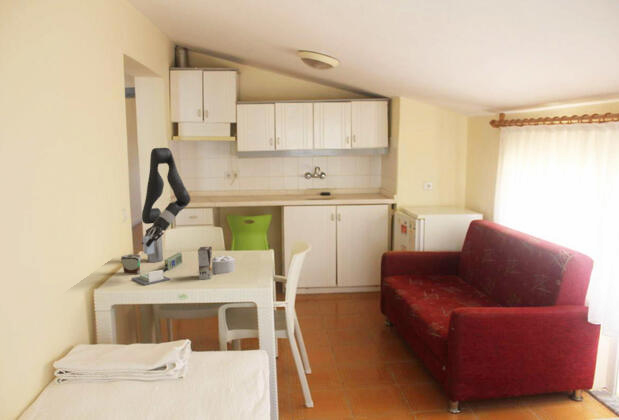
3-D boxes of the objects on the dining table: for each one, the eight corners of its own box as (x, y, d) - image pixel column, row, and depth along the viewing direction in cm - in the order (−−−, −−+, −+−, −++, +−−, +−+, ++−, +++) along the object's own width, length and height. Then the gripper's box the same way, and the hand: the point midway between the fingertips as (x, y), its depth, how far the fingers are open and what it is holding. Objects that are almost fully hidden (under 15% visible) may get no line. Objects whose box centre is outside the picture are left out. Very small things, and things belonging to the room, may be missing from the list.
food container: (146, 271, 279) (145, 254, 278) (139, 274, 273) (138, 257, 272) (129, 270, 283) (128, 253, 282) (122, 273, 277) (120, 256, 276)
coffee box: (211, 279, 261) (209, 249, 259) (199, 279, 260) (197, 250, 258) (213, 274, 270) (211, 246, 268) (201, 275, 270) (199, 246, 267)
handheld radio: (183, 262, 300) (165, 273, 276) (178, 263, 301) (160, 273, 276) (182, 252, 299) (164, 262, 275) (177, 252, 300) (159, 262, 275)
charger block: (143, 253, 260) (142, 236, 259) (150, 251, 263) (149, 235, 261) (147, 254, 257) (146, 237, 255) (154, 253, 259) (153, 236, 258)
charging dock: (132, 279, 263) (131, 269, 262) (156, 274, 272) (155, 264, 271) (144, 285, 251) (143, 274, 250) (169, 280, 260) (169, 269, 260)
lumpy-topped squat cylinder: (210, 270, 279) (210, 255, 278) (233, 268, 284) (232, 253, 283) (214, 274, 270) (213, 259, 268) (237, 272, 274) (236, 257, 273)
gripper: (154, 214, 267) (134, 239, 261) (165, 217, 257) (145, 242, 250) (163, 222, 272) (144, 247, 265) (175, 225, 261) (156, 251, 255)
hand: (145, 245), depth 258 cm, fingers closed on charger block, 4 cm apart
